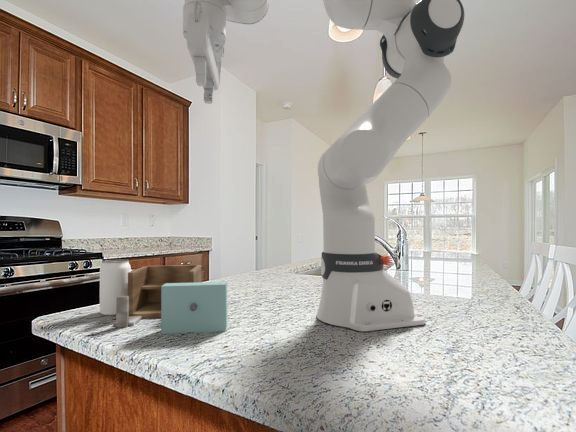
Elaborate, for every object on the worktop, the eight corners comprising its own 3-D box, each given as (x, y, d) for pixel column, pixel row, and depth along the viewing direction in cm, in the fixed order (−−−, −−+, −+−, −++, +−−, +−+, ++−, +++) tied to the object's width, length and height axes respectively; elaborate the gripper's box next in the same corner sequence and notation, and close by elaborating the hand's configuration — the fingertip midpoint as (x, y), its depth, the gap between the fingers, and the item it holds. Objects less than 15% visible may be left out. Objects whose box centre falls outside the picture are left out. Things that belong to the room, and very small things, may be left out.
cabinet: (205, 303, 83) (205, 264, 83) (193, 324, 66) (193, 275, 66) (140, 305, 81) (140, 265, 81) (111, 327, 65) (111, 277, 65)
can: (117, 316, 72) (117, 262, 72) (92, 315, 73) (93, 262, 74) (136, 309, 78) (136, 259, 79) (113, 307, 80) (113, 258, 80)
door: (227, 326, 65) (227, 281, 65) (225, 333, 61) (225, 285, 61) (165, 328, 64) (165, 283, 64) (159, 335, 60) (159, 287, 60)
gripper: (213, -5, 58) (214, 72, 58) (224, 54, 79) (224, 110, 78) (177, -7, 58) (177, 70, 57) (197, 53, 78) (198, 110, 78)
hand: (204, 94), depth 68 cm, fingers open, 8 cm apart
